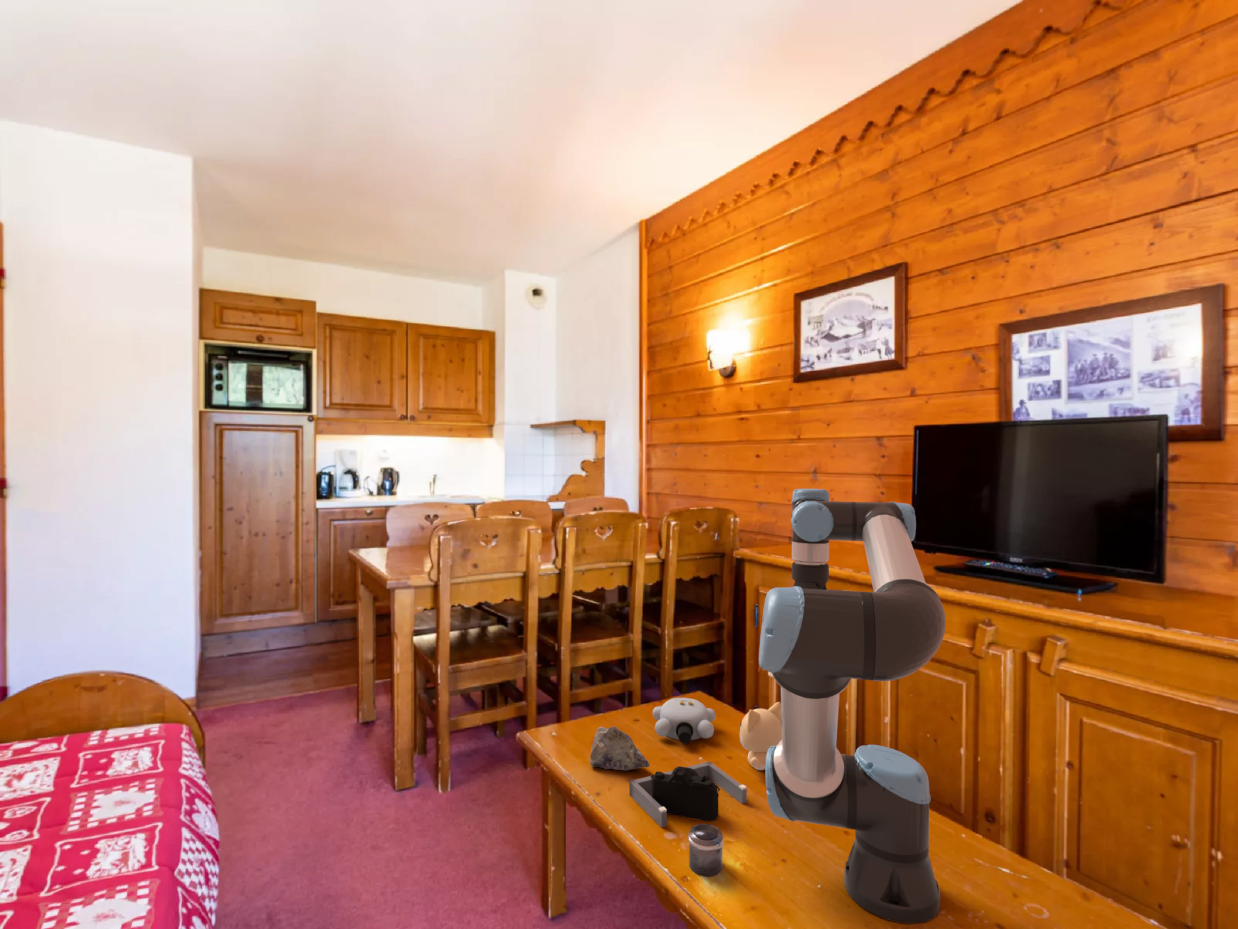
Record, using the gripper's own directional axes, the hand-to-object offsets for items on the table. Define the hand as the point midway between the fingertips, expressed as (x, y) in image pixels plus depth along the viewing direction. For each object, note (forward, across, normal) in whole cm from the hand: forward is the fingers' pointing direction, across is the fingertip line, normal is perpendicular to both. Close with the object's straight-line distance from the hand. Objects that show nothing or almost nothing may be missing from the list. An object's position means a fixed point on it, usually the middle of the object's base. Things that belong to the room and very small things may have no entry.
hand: (809, 673), depth 133 cm
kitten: (+30, +21, -5) cm, 37 cm away
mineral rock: (+30, +35, +28) cm, 53 cm away
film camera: (+30, +14, +22) cm, 39 cm away
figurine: (+30, +45, +2) cm, 54 cm away
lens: (+30, -5, +30) cm, 42 cm away
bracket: (+29, +16, +20) cm, 39 cm away
